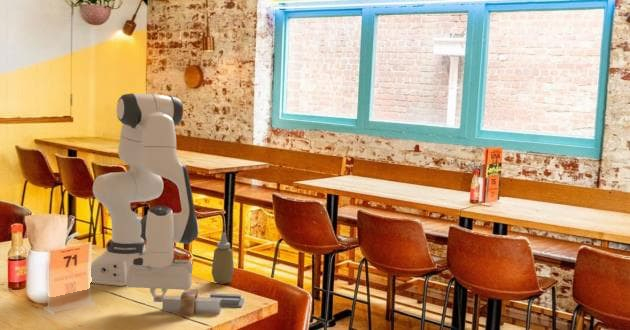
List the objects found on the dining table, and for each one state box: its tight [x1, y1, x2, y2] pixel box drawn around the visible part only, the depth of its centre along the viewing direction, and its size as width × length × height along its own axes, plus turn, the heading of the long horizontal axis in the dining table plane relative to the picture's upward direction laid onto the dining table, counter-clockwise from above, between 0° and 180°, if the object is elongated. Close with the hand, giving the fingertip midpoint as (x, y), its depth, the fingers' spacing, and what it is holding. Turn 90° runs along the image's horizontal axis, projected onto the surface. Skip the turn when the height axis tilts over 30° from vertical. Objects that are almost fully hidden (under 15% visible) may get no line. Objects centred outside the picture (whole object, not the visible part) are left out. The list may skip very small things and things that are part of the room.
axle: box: [161, 294, 222, 315], centre depth 235 cm, size 18×4×4 cm, turn 89°
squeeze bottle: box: [211, 232, 235, 285], centre depth 269 cm, size 8×8×18 cm
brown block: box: [179, 288, 199, 316], centre depth 235 cm, size 4×8×6 cm, turn 0°
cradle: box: [207, 292, 245, 308], centre depth 245 cm, size 12×8×2 cm, turn 90°
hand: (158, 301), depth 235 cm, fingers closed
